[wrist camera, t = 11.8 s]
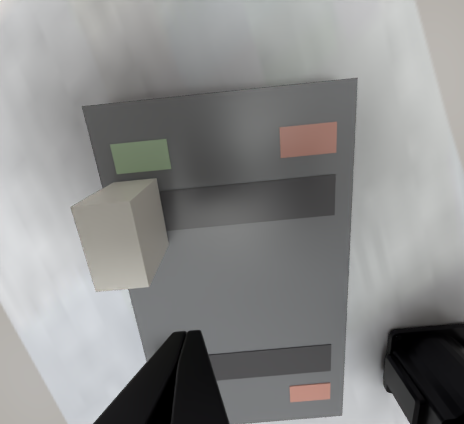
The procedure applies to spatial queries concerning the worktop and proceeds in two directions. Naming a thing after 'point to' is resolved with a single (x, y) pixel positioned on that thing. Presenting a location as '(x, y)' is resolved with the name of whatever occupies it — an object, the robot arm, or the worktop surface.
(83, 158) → the worktop surface
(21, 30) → the worktop surface
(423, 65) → the worktop surface
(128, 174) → the switch panel
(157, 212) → the off-white switch lever
